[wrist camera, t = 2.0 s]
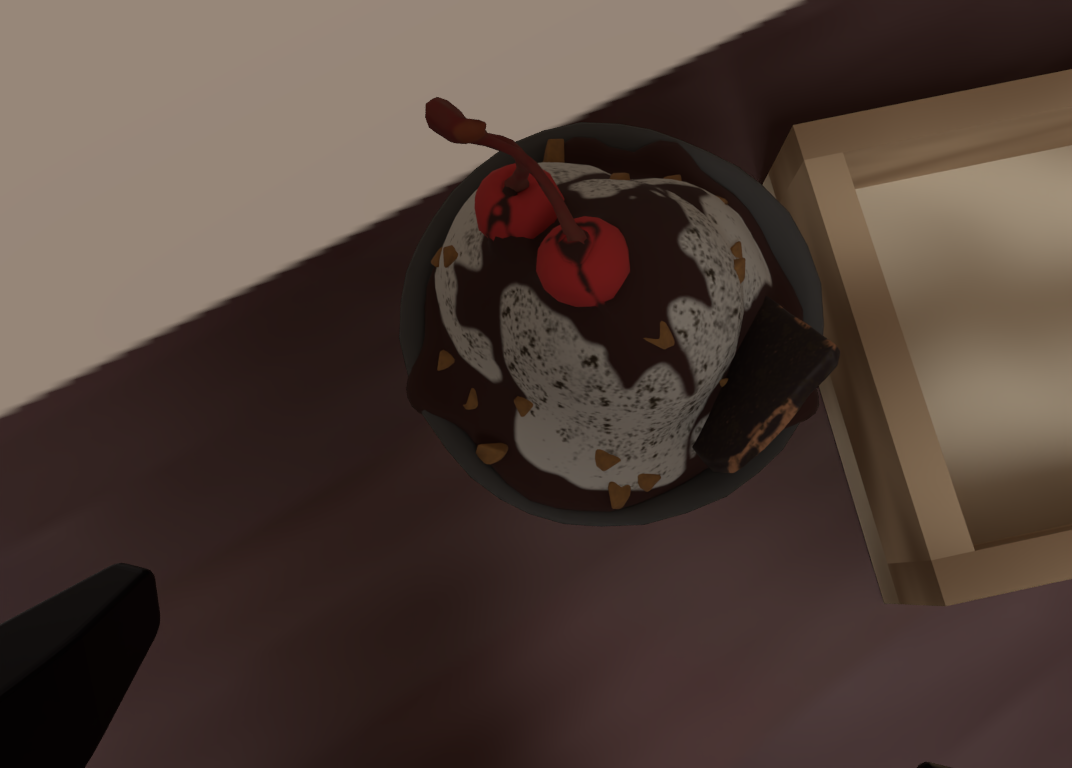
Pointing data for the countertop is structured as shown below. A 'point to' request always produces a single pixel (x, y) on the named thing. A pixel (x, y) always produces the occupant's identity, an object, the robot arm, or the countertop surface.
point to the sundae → (610, 322)
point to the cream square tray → (948, 329)
